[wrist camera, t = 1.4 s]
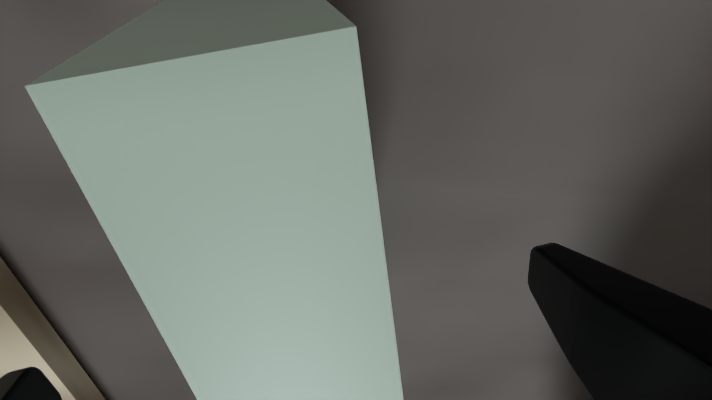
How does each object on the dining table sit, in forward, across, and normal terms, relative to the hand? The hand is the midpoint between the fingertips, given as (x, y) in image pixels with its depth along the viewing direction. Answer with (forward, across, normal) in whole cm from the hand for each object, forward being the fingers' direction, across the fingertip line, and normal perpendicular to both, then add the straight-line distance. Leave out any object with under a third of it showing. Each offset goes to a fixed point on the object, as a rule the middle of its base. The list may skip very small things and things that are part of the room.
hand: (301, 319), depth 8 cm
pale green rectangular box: (+6, 0, 0) cm, 6 cm away
